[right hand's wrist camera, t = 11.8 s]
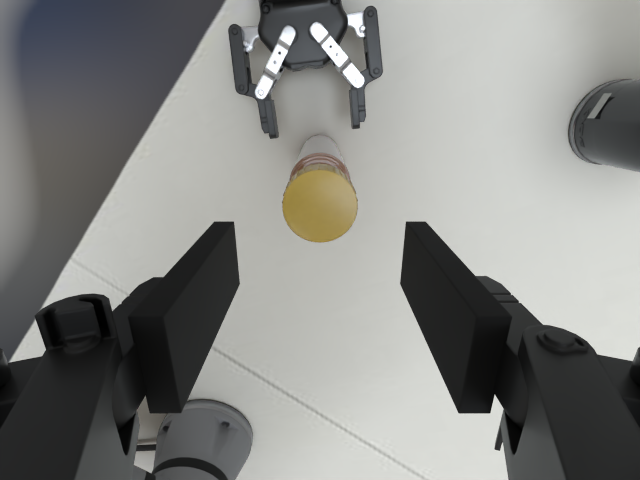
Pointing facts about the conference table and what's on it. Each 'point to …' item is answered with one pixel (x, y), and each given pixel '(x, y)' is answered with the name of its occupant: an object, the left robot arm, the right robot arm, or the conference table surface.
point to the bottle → (319, 154)
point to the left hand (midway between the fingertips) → (314, 133)
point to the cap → (320, 203)
